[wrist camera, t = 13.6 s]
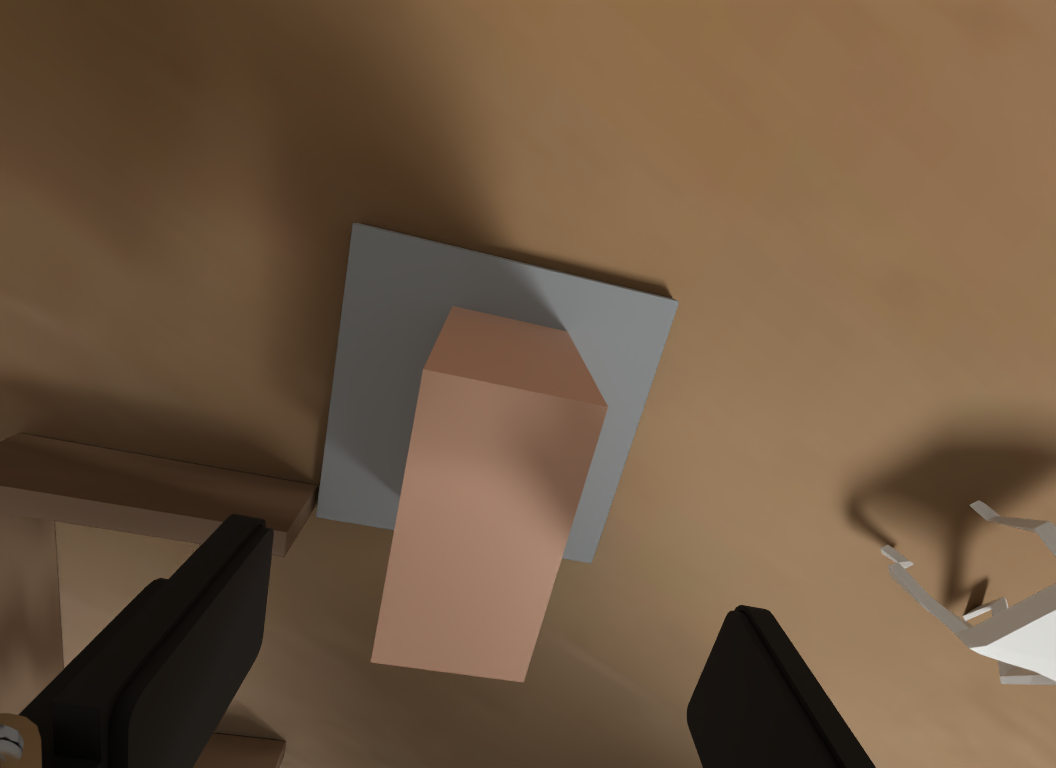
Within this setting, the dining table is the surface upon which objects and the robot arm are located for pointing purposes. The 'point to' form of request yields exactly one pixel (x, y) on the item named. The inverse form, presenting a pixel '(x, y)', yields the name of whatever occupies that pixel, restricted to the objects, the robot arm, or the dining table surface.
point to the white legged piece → (1001, 615)
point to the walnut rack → (122, 505)
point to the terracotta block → (487, 496)
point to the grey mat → (411, 332)
